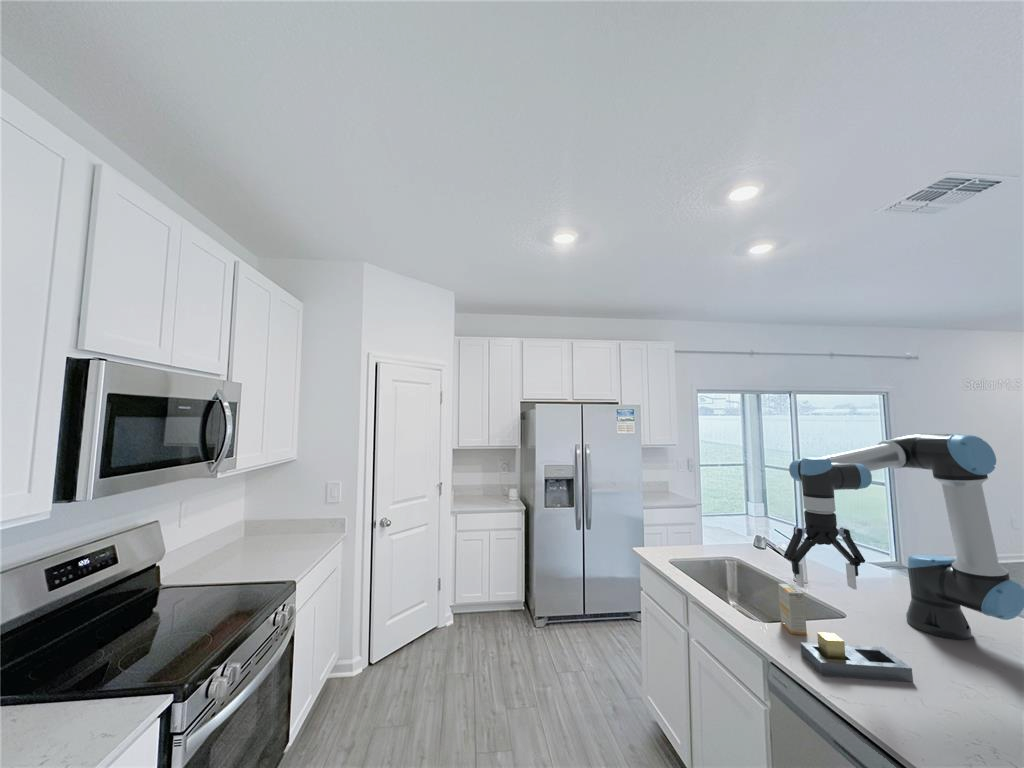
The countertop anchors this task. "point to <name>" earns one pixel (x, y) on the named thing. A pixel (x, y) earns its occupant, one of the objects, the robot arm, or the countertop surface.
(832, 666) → the grey flat slotted block
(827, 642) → the brass block
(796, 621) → the supplement box
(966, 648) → the countertop surface
